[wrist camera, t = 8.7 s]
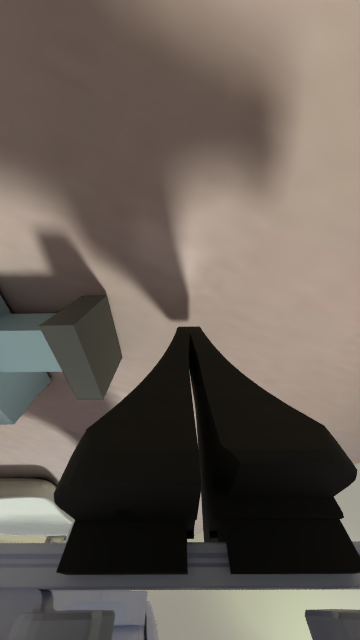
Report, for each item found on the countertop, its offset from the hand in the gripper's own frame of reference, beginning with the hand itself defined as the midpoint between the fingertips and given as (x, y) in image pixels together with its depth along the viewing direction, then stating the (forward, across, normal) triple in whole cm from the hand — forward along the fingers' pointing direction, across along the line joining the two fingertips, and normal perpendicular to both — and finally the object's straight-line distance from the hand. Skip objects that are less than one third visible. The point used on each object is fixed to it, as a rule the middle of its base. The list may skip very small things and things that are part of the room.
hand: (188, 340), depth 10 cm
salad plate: (+2, +30, +35) cm, 46 cm away
